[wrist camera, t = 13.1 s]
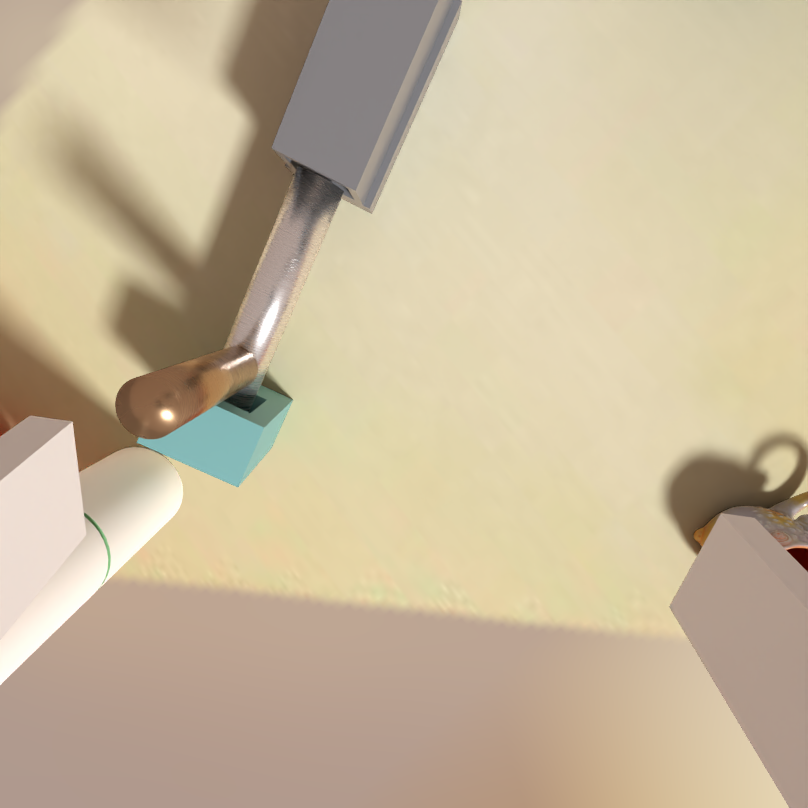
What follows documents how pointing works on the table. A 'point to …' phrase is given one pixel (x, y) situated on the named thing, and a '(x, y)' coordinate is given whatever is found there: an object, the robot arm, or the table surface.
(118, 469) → the cylindrical container
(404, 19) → the outer sleeve
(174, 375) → the sliding bolt
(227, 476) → the end socket
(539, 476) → the table surface
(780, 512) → the mug
